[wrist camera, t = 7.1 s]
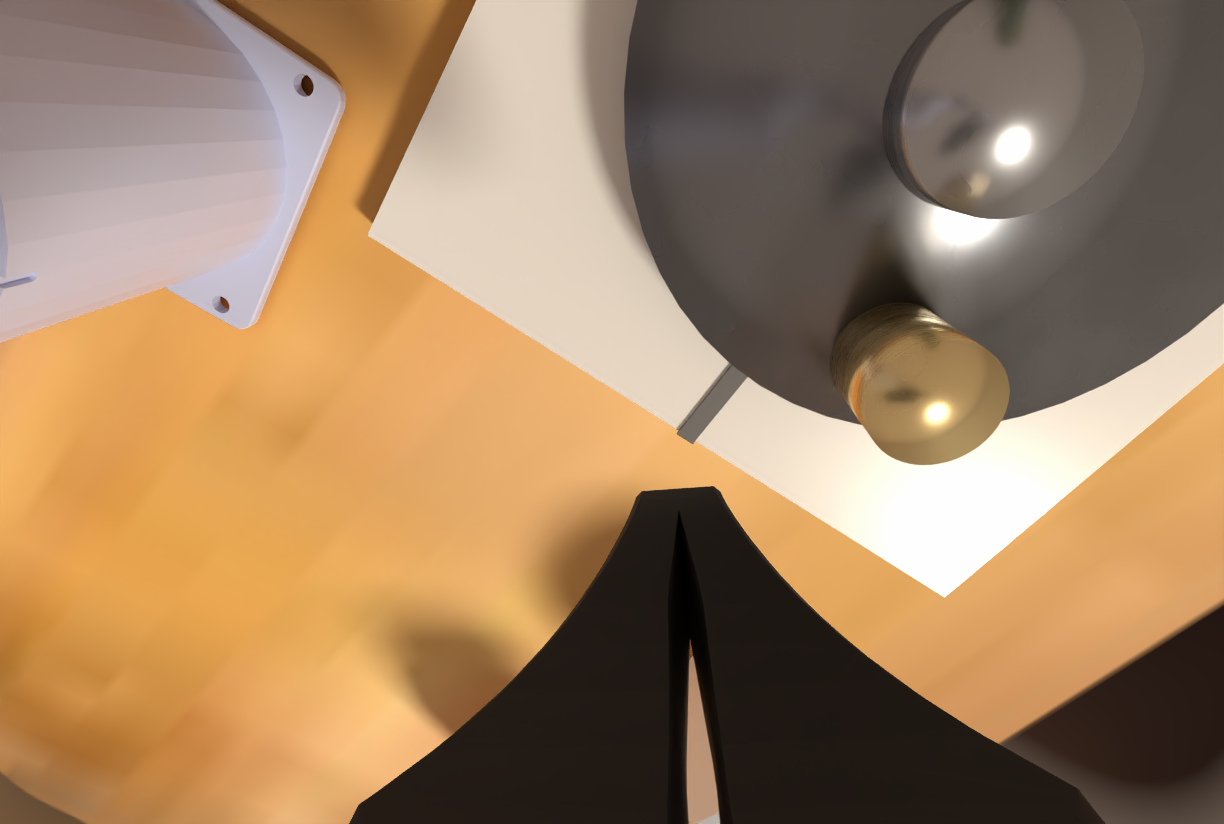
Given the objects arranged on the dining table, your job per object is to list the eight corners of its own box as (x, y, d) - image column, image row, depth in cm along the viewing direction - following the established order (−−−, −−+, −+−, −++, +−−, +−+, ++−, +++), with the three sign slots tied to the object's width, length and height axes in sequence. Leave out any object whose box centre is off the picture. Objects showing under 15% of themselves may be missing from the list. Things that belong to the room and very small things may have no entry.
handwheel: (1115, 455, 18) (1236, 541, 15) (581, 359, 18) (562, 422, 14) (1555, -287, 12) (1998, -487, 8) (709, -459, 11) (739, -754, 7)
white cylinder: (740, 591, 23) (774, 769, 17) (874, 677, 24) (953, 872, 18) (629, 693, 26) (622, 882, 19) (757, 766, 27) (790, 964, 21)
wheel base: (374, 231, 18) (356, 238, 17) (941, -980, 10) (977, -1120, 9) (933, 583, 22) (947, 607, 21) (1671, -52, 14) (1758, -66, 13)
